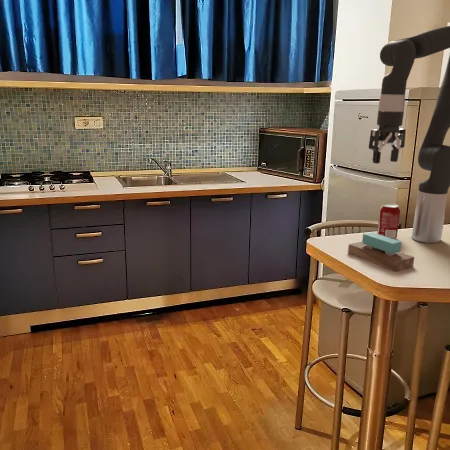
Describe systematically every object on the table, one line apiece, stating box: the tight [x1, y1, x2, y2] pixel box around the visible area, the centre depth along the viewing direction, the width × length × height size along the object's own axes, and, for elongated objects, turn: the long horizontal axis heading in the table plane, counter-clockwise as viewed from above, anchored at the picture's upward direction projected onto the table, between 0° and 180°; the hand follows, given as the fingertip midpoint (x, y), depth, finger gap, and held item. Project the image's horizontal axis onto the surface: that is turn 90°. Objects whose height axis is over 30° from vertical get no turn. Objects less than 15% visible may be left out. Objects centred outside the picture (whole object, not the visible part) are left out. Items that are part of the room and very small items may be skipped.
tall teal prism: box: [361, 232, 402, 256], centre depth 137 cm, size 4×11×7 cm, turn 32°
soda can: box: [376, 202, 401, 240], centre depth 158 cm, size 7×7×12 cm
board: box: [347, 240, 415, 272], centre depth 137 cm, size 8×18×3 cm, turn 32°
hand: (385, 162), depth 143 cm, fingers open, 8 cm apart
